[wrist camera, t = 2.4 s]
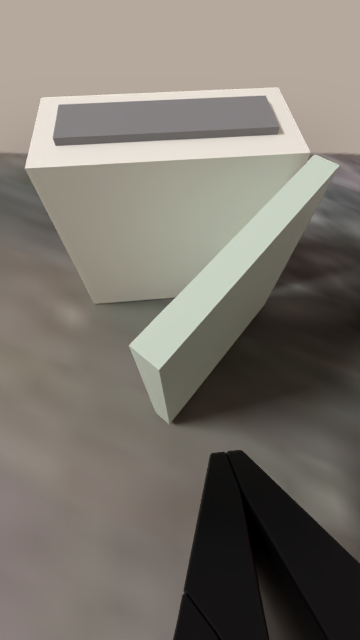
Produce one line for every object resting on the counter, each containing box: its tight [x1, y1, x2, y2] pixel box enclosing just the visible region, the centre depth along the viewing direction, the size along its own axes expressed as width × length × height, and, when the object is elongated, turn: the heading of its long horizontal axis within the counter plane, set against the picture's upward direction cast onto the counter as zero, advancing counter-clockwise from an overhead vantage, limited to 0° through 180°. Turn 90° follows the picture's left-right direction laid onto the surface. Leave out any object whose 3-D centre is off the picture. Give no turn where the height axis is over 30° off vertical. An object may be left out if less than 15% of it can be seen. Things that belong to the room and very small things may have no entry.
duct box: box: [25, 88, 310, 304], centre depth 16 cm, size 5×11×10 cm, turn 96°
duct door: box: [129, 155, 340, 425], centre depth 13 cm, size 1×10×10 cm, turn 141°
